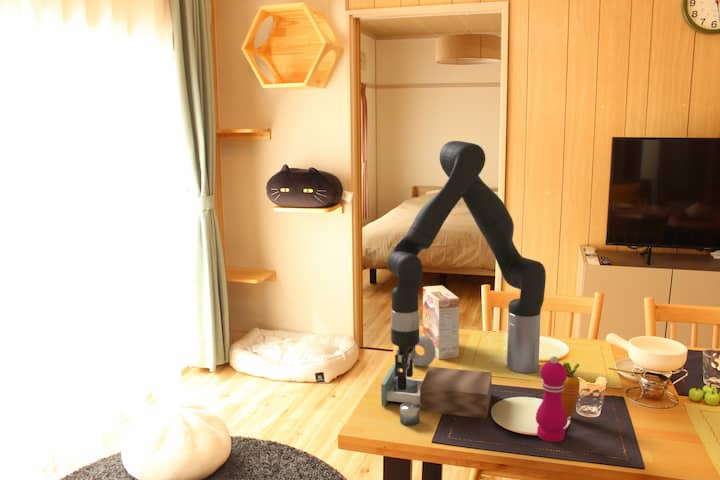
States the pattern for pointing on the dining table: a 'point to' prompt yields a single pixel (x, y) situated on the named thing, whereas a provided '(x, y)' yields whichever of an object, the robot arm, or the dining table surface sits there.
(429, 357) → the donut
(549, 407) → the pepper mill
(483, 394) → the housing
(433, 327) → the coffeecake box
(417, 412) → the shiny metal cylinder
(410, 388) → the grey domed disc
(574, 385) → the carrot
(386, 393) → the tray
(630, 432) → the dining table surface
